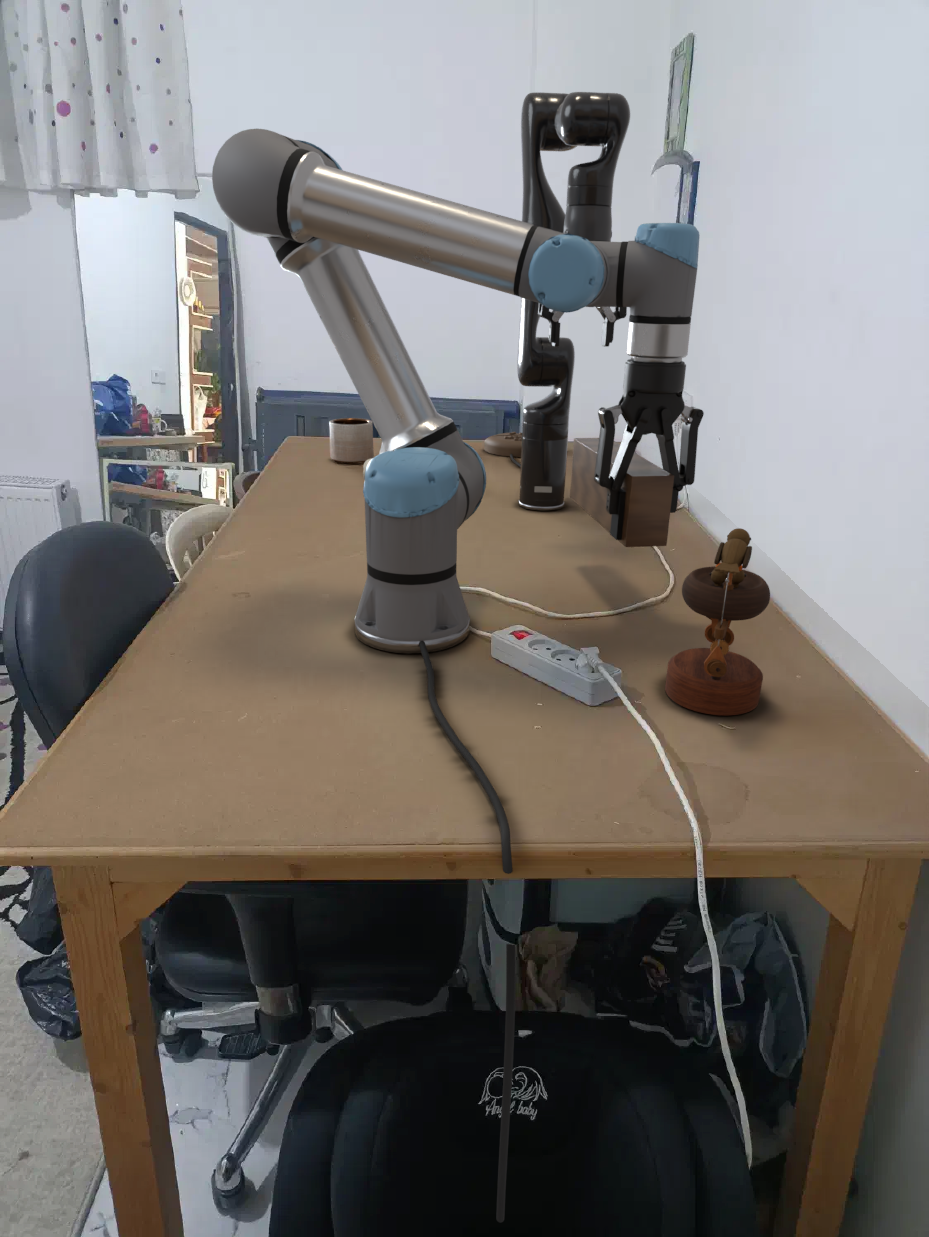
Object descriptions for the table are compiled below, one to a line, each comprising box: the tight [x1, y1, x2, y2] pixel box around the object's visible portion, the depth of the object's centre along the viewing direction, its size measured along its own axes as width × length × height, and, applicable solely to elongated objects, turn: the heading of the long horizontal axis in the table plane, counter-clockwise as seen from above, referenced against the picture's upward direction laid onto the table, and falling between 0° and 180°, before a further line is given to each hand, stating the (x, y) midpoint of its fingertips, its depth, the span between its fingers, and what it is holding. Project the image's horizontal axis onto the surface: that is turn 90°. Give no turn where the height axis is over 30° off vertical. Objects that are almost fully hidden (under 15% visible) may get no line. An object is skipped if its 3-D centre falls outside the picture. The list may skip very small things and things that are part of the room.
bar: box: [569, 437, 674, 548], centre depth 123 cm, size 27×6×10 cm, turn 9°
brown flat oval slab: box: [483, 431, 522, 458], centre depth 222 cm, size 21×28×4 cm
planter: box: [328, 417, 375, 464], centre depth 212 cm, size 11×11×10 cm
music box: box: [664, 527, 771, 716], centre depth 94 cm, size 15×11×20 cm
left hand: (638, 536), depth 115 cm, fingers closed on bar, 6 cm apart
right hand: (580, 346), depth 140 cm, fingers open, 8 cm apart
